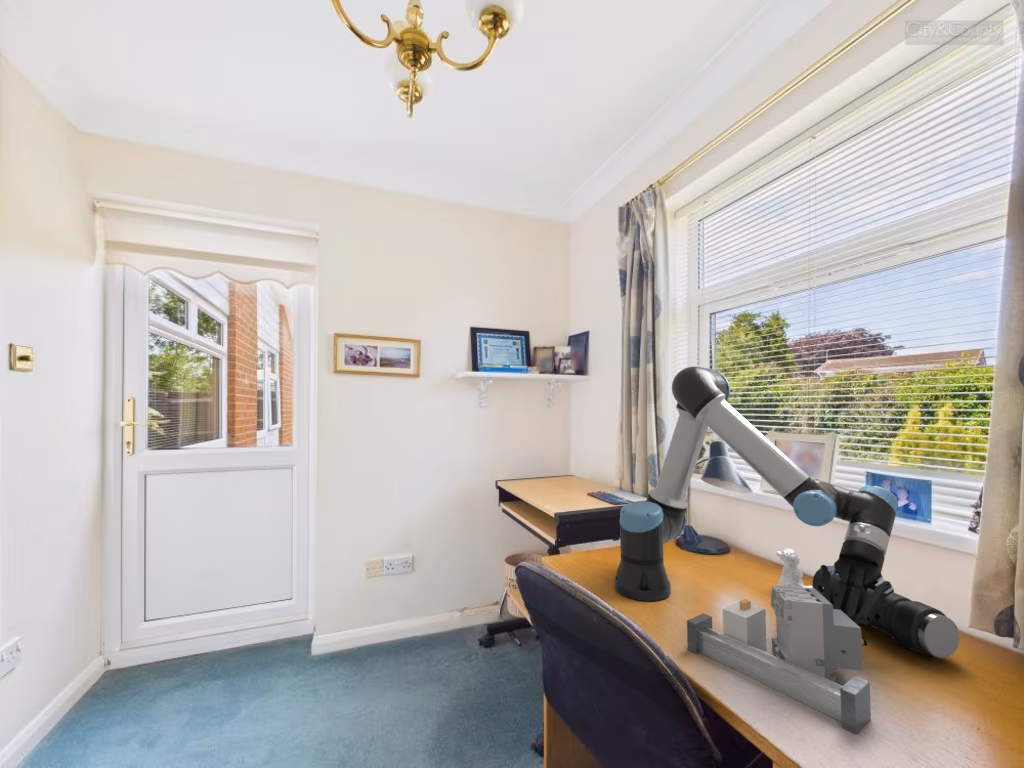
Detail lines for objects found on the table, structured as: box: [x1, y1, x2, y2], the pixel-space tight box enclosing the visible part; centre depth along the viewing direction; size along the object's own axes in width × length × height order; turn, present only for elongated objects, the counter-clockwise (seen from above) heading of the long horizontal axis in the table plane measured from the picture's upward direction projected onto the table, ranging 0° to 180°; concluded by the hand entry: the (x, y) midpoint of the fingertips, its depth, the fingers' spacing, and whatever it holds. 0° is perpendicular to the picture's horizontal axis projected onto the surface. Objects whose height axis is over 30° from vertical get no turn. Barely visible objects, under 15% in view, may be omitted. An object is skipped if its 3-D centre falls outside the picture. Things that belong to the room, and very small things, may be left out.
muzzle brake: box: [812, 565, 960, 659], centre depth 104 cm, size 10×28×10 cm, turn 7°
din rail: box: [686, 613, 872, 735], centre depth 85 cm, size 30×6×6 cm, turn 34°
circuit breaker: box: [770, 584, 868, 683], centre depth 87 cm, size 8×14×15 cm, turn 77°
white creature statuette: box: [776, 547, 813, 588], centre depth 125 cm, size 10×9×12 cm
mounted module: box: [722, 598, 768, 653], centre depth 95 cm, size 5×8×10 cm, turn 124°
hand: (835, 648), depth 90 cm, fingers closed
